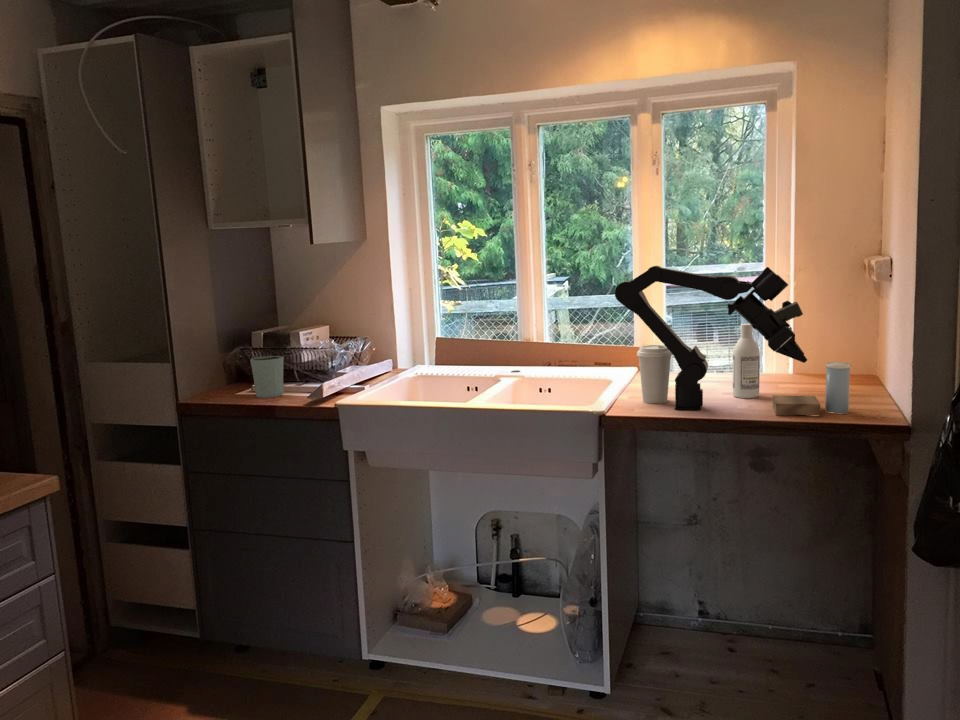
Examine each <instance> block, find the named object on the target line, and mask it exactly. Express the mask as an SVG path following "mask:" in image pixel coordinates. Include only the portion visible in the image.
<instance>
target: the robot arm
mask: <svg viewBox="0 0 960 720" xmlns="http://www.w3.org/2000/svg"><path fill="white" fill-rule="evenodd" d="M657 282H658V283H663V284H666V285H667V284H668V285H673V286H677V287H678V286H679V287H683V288H687V289H693V290H694V289H695V290H698V291H702V292H705V293H707V294H709V295H711V296H714V297H717V298H718V299H722V300H724V301H731V300H734V299H735V298H736V299H735V300H734V301H733V303H729V302H728V303H727V305H726V307H727V315H728V316H731V315H732V314H733V313H734V312H735V311H736V313H738V314H739V315H740V316H741V317H742V318H744V319H743V320H745V321H746V322H747V323H748V324H751V325H752V329H754V330H756V331H757V332H758V333H759V334H760V335H761V336H762V337H763V338H764V340H766V341H767V347H768V348H770V349H771V350H772V351H773V352H775V353H777V354H781V355H783V356H786V357H788V358H791V359H793V360H796V361H798V362H801V363H803V364H805V363H806V362H807V361H808V358H807V357H806V356H805V352H804V351H803V349H801V347H800V346H799V344H798V343H797V341H796V334H795V332H794V331H793V330H792V329H793V328H792V326H791V325H790V324H789V322H788V321H790V320H792V319H794V318H799V317H802V316H803V315H804V313H803V311H802V308H801V307H800V305H799V303H798V302H797V301H794V302H791V301H789V300H785V301H783V302H782V304H781V307H780V308H779V309H777V310H775V311H774V310H773V309H772V308H769V307H768V306H766V305H765V304H764V303H763V302H766V301H770V302H773V300H775V298H777V297H778V296H779V295H780V294H781V293H782V292H783V291H784V290H785V289H786V288H787V287H788V286H789V283H788V282H786V280H784V278H782V276H780V275H779V274H777V273H776V272H775V271H773V270H772V269H771V268H770V267H769V266H766V267H765V268H764V269H763V270H762V272H761V273H760V274H759V275H758V276H757V277H756V278H755V279H754V280H753V281H749V280H747V281H744V280H739V279H738V278H737V277H736V276H734V275H703V274H698V273H693V272H689V271H688V272H687V271H682V270H676V269H671V268H667V267H662V266H660V265H652V266H651V267H649V268H648V269H647V270H646V271H644V272H643V273H641V274H640V275H638V276H636V277H635V278H633V279H632V280H631V279H630V280H625V281H623V282H620V283H619V284H617V286H616V287H615V290H614V296H615V299H616V301H618V302H619V303H620V304H621V305H622V306H624V307H625V308H626V309H628V310H630V312H632V313H634V314H635V315H637V316H638V317H639V319H640V320H641V321H642V322H643V323H644V324H645V326H647V327H648V328H649V330H650V331H651V332H652V333H653V334H654V335H655V336H656V337H657V338H658V339H659V340H660V342H661V343H662V344H663V345H665V346H666V347H667V348H668V350H669V351H670V352H671V353H672V354H673V355H672V356H673V357H674V359H675V361H676V363H677V364H678V367H679V368H680V370H681V371H680V372H678V373H677V375H676V377H675V378H674V382H675V386H674V387H675V388H674V390H675V391H674V395H675V396H674V399H675V404H674V410H676V411H677V410H680V411H681V410H683V411H686V410H687V411H690V410H691V411H700V410H701V409H702V407H703V406H704V404H703V403H704V402H703V401H704V389H703V388H701V383H699V381H701V380H703V378H705V376H706V374H707V372H708V369H709V368H708V367H709V364H708V361H707V356H706V355H705V354H704V353H702V351H701V350H700V349H699V347H698V346H697V345H694V347H692V348H691V347H690V346H689V345H687V344H686V343H685V342H684V341H683V340H682V339H681V338H680V337H679V336H678V335H677V333H676V332H675V331H674V330H673V329H672V328H671V326H669V325H668V323H667V322H666V321H665V320H664V319H663V318H662V317H661V315H660V314H659V313H658V312H657V311H656V310H655V309H654V308H653V307H652V305H651V304H650V303H649V301H648V299H647V296H646V294H645V292H643V291H644V290H646V289H647V288H649V287H650V286H652V285H653V284H655V283H657ZM752 288H753V289H752ZM751 289H752V290H751ZM748 292H749V293H748ZM744 293H748V294H747V295H746V296H744V297H743V295H740V296H739V294H744ZM755 294H756V295H757V296H758V297H759V298H760V299H761V300H763V302H762V301H761V300H760V299H759V298H758V297H757V296H755ZM737 297H738V298H737Z"/></svg>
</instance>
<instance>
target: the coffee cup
mask: <svg viewBox="0 0 960 720" xmlns="http://www.w3.org/2000/svg"><path fill="white" fill-rule="evenodd" d="M636 356H638V365H639V374H640V375H639V376H640V384H641V386H640V387H641V393H642V401H643V403H645V402H646V404H653V403H658V404H664V403H667V402H668V397H669V396H668V394H669V384H670V371H671V361H672V360H671V359H672V356H674V355H673V354H672V353H671V352H670V351H669V350H668V348H667V347H666V346H665V345H664V344H663V345H662V344H647V345H642V346H639V348H638V350H637V352H636Z"/></svg>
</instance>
